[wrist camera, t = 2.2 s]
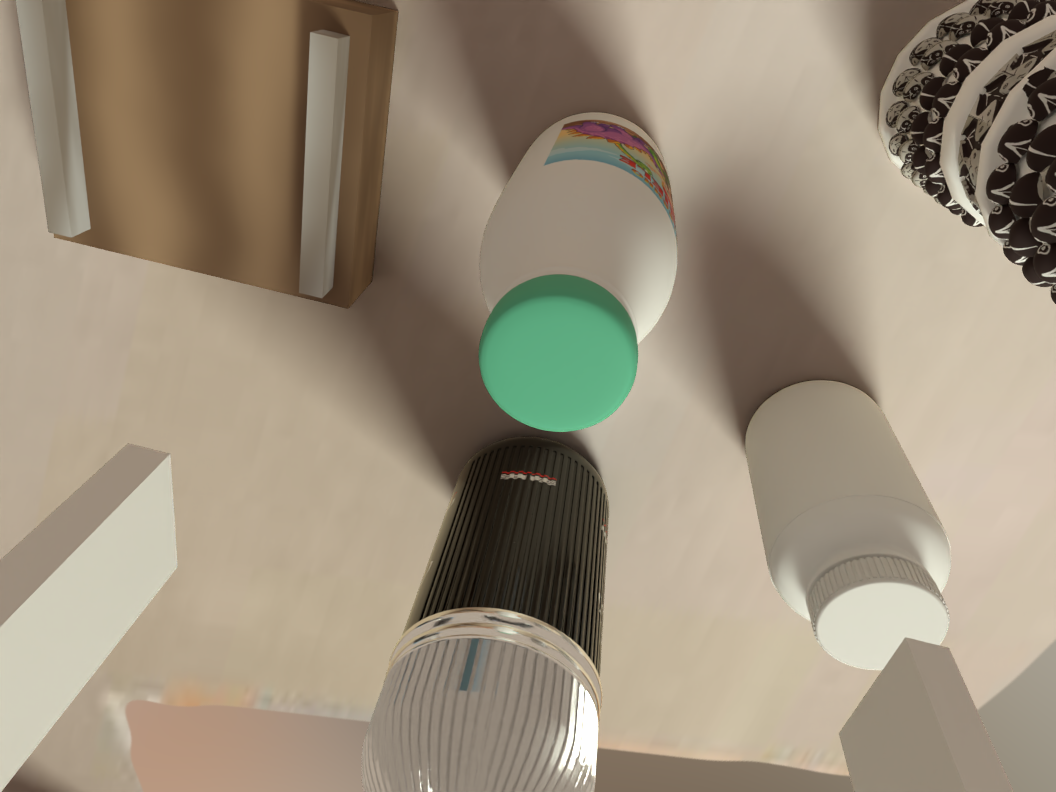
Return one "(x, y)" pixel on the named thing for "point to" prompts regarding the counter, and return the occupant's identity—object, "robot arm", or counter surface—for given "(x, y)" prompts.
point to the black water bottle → (502, 635)
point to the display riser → (216, 133)
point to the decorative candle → (983, 123)
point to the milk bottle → (576, 271)
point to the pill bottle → (846, 523)
